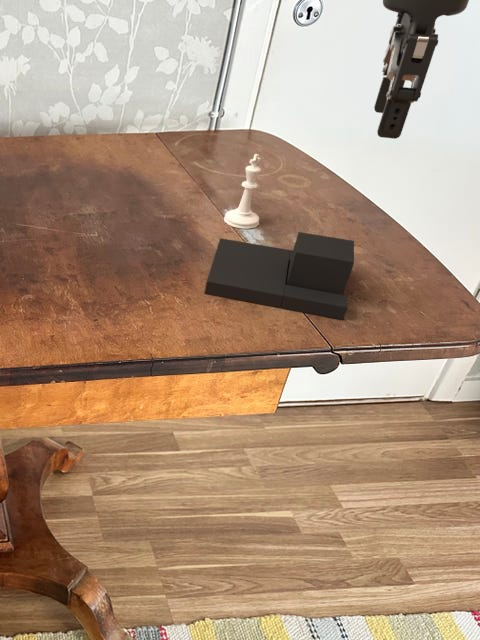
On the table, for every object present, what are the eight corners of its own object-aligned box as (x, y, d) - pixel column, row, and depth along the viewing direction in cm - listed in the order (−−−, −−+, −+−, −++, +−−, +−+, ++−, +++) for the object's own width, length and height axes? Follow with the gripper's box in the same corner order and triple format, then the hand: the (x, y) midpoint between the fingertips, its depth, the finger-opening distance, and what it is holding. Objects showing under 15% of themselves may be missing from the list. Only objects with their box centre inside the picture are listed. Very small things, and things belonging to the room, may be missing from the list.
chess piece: (266, 223, 102) (282, 156, 96) (242, 231, 100) (258, 164, 94) (240, 210, 105) (254, 145, 99) (216, 218, 103) (230, 152, 97)
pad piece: (339, 283, 89) (354, 240, 85) (339, 305, 85) (354, 262, 81) (286, 273, 91) (298, 231, 87) (283, 295, 87) (295, 252, 83)
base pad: (343, 271, 91) (347, 259, 90) (343, 320, 82) (347, 307, 81) (217, 249, 96) (220, 237, 95) (204, 293, 87) (206, 281, 86)
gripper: (495, -31, 61) (429, 150, 71) (473, -54, 72) (417, 107, 81) (401, -35, 63) (349, 142, 73) (392, -56, 74) (348, 101, 84)
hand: (385, 123), depth 77 cm, fingers open, 8 cm apart
